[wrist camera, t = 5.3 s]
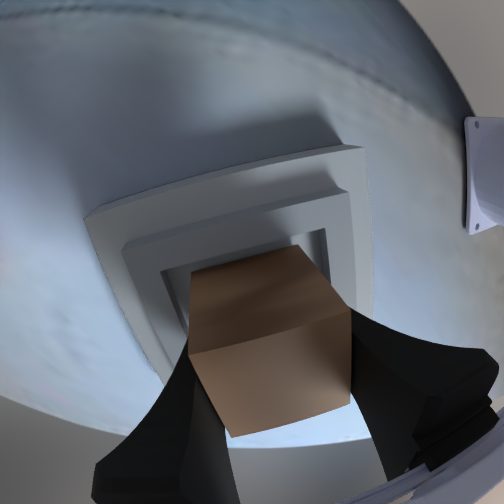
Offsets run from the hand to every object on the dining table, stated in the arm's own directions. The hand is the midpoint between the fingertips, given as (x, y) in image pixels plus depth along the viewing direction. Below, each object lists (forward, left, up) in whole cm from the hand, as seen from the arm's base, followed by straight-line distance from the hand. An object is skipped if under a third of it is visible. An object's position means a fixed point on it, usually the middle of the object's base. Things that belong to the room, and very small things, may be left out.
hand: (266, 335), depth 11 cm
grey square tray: (0, 0, -4) cm, 4 cm away
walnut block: (0, 0, -2) cm, 2 cm away
